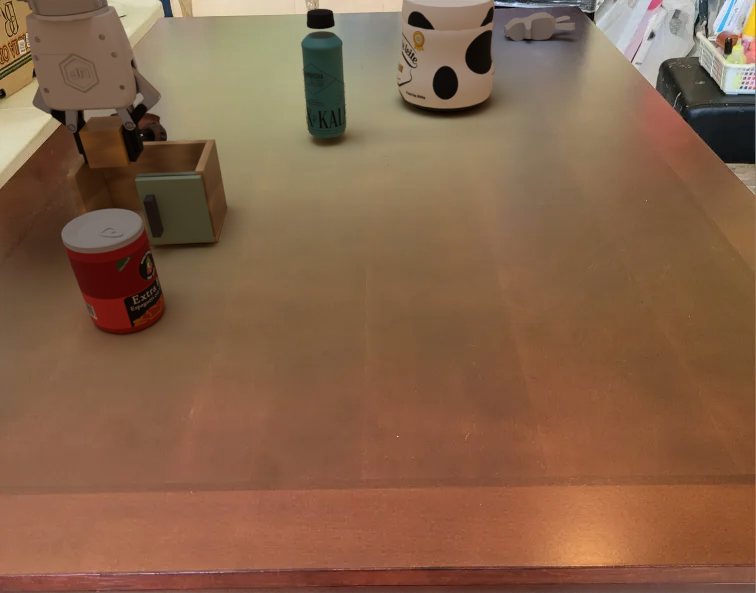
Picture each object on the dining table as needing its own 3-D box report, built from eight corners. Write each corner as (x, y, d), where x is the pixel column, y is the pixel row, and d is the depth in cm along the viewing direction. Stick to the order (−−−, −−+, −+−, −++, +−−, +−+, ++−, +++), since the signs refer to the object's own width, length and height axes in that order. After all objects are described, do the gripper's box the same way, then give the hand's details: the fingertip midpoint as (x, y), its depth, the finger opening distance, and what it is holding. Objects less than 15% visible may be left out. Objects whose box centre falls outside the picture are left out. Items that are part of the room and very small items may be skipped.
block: (89, 168, 78) (78, 132, 75) (101, 152, 82) (90, 116, 79) (128, 166, 78) (118, 130, 75) (138, 150, 82) (128, 115, 79)
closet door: (148, 251, 80) (130, 187, 75) (153, 241, 82) (136, 177, 77) (211, 248, 80) (197, 184, 75) (214, 238, 82) (201, 174, 77)
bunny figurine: (502, 14, 152) (568, 5, 150) (502, 37, 155) (567, 28, 153) (507, 25, 144) (577, 16, 143) (508, 49, 147) (576, 40, 146)
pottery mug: (94, 167, 102) (90, 113, 101) (144, 171, 110) (141, 121, 109) (145, 163, 96) (142, 105, 95) (194, 167, 104) (192, 114, 103)
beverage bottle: (314, 130, 111) (303, 3, 99) (352, 132, 110) (346, 5, 98) (302, 146, 106) (290, 15, 94) (342, 149, 105) (335, 16, 92)
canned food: (147, 339, 68) (120, 250, 62) (77, 331, 70) (43, 244, 63) (178, 295, 74) (156, 210, 68) (113, 289, 76) (85, 205, 69)
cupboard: (90, 247, 83) (65, 175, 77) (110, 212, 90) (89, 143, 84) (217, 242, 83) (203, 170, 77) (227, 207, 90) (215, 139, 84)
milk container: (377, 100, 121) (375, -4, 110) (443, 78, 130) (447, -21, 119) (444, 127, 110) (449, 15, 100) (511, 101, 119) (523, -5, 108)
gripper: (-30, 9, 66) (32, 175, 77) (140, 3, 66) (177, 169, 77) (1, -8, 72) (55, 148, 83) (156, -14, 72) (189, 142, 83)
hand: (113, 156), depth 80 cm, fingers closed on block, 4 cm apart
